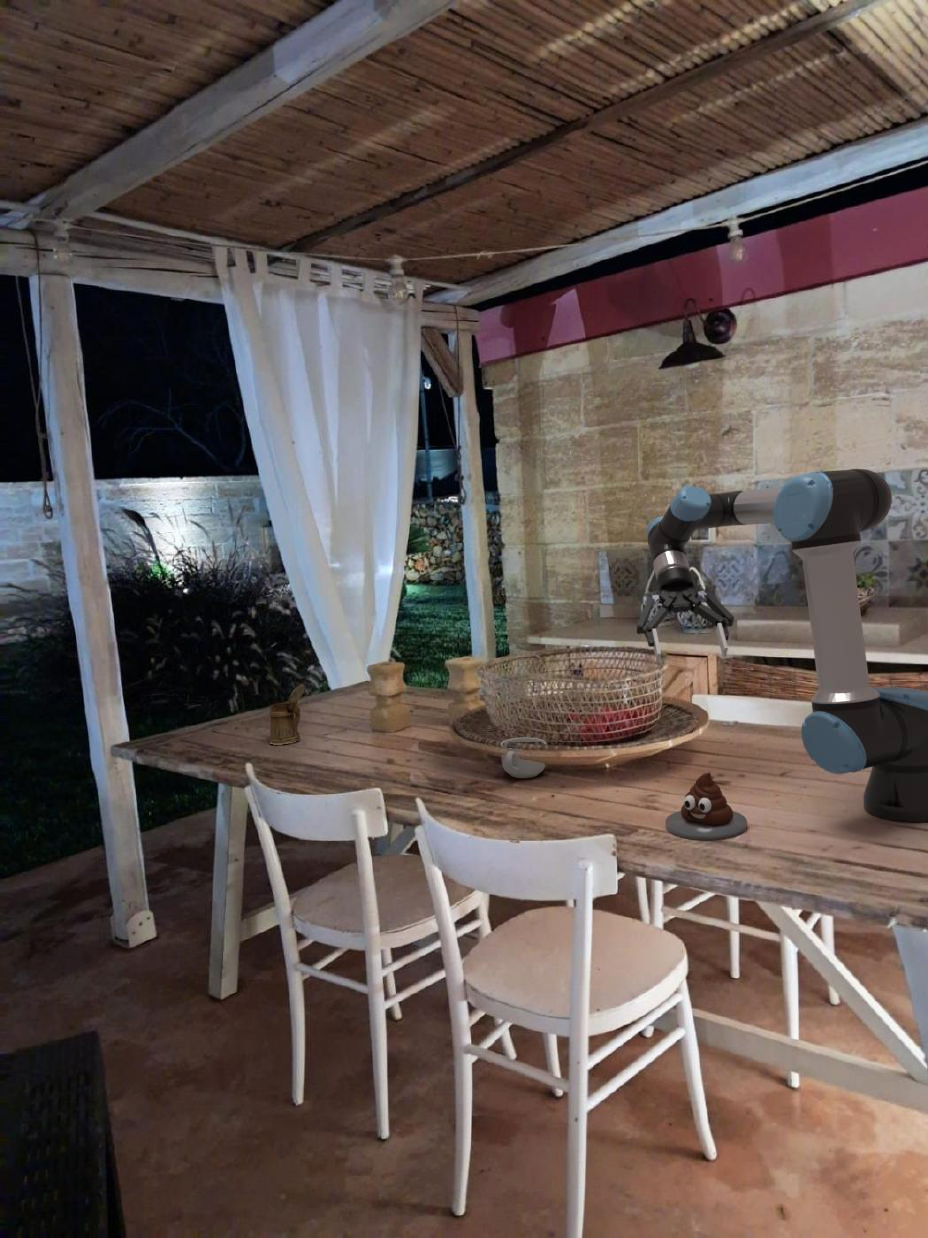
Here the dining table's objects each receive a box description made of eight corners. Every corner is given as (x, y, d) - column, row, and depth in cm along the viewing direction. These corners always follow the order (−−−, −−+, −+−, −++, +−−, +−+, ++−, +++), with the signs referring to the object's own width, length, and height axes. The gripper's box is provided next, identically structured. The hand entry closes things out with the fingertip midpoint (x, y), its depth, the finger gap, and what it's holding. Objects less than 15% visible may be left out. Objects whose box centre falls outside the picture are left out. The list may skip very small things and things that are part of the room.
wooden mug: (299, 747, 266) (291, 686, 263) (263, 745, 272) (256, 685, 270) (318, 739, 273) (311, 679, 271) (283, 737, 280) (276, 679, 278)
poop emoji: (741, 817, 176) (739, 769, 175) (719, 831, 170) (716, 782, 169) (694, 808, 183) (691, 762, 182) (671, 821, 177) (668, 774, 176)
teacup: (520, 766, 227) (518, 734, 226) (557, 771, 220) (554, 738, 219) (485, 782, 216) (482, 749, 215) (523, 788, 209) (520, 753, 208)
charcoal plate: (735, 809, 183) (735, 805, 183) (756, 837, 168) (756, 831, 168) (659, 815, 184) (659, 810, 184) (673, 843, 169) (673, 838, 169)
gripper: (728, 582, 206) (750, 660, 193) (616, 592, 207) (630, 670, 194) (733, 560, 200) (756, 638, 187) (617, 570, 201) (632, 649, 188)
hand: (692, 655), depth 191 cm, fingers open, 13 cm apart
